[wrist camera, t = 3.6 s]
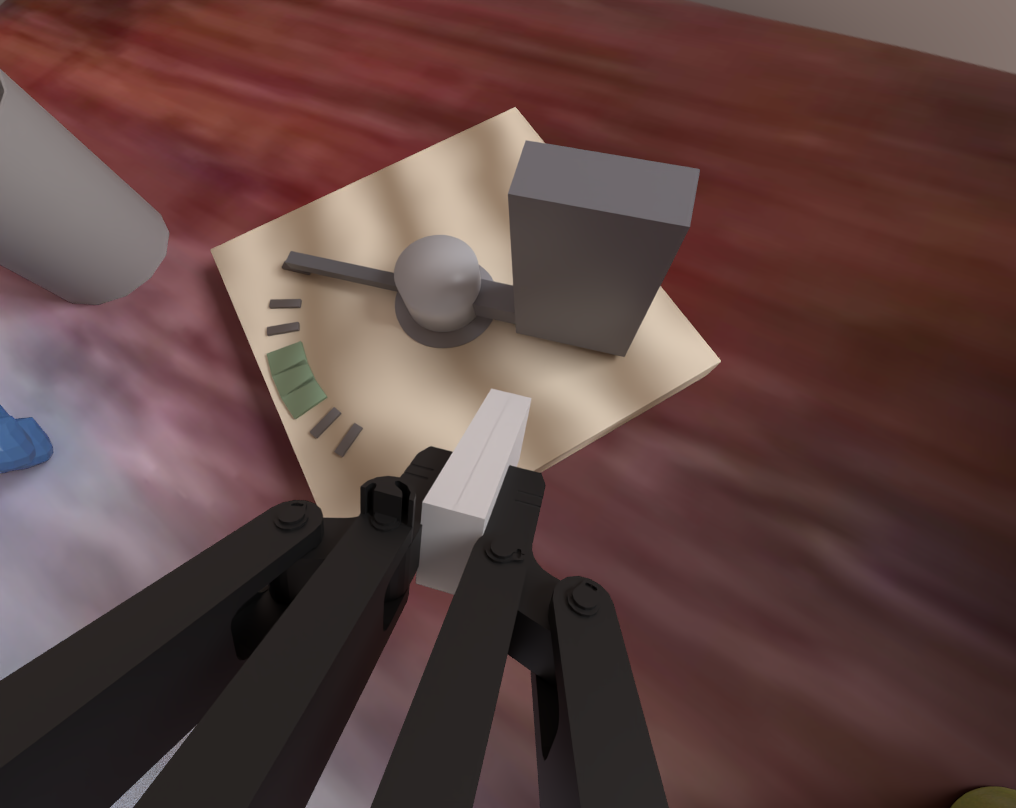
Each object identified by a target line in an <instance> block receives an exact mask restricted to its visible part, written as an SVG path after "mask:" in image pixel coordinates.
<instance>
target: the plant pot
mask: <svg viewBox="0 0 1016 808" xmlns="http://www.w3.org/2000/svg"><path fill="white" fill-rule="evenodd" d="M951 808H1016V790H1013V789H1009V788H1005V787H991V786H990V787H982V788H978V789H975V790H972V791H970V792H967V793H965V794H964V795H963V796H962V797H960V798H959V799H958V800H957V801H956V802H955V803H954V804H953V805H952V806H951Z"/></svg>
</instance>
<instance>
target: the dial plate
mask: <svg viewBox="0 0 1016 808" xmlns="http://www.w3.org/2000/svg"><path fill="white" fill-rule="evenodd" d="M526 140H527V141H533V142H539V143H544V142H543V140H542V139H541V138H540V137H539V136H538V134H537V133H536V132H535V131H534V129H533V128H532V127H531V126H530V124H529V123H528V122H527V121H526V119H525V118H524V117H523V116H522V115H521V113H520V112H519V111H518V110H517V108H516V107H514V108H512V109H510V110H508V111H506V112H504V113H502V114H500V115H497V116H495V117H493V118H491V119H489V120H487V121H485V122H482V123H480V124H478V125H476V126H474V127H472V128H470V129H467V130H465V131H463V132H461V133H459V134H457V135H455V136H452V137H450V138H448V139H446V140H444V141H442V142H440V143H437V144H435V145H433V146H431V147H429V148H427V149H425V150H423V151H420V152H418V153H416V154H414V155H412V156H410V157H408V158H405V159H403V160H401V161H399V162H397V163H395V164H393V165H390V166H388V167H386V168H384V169H382V170H380V171H378V172H375V173H373V174H371V175H369V176H367V177H365V178H363V179H360V180H358V181H356V182H354V183H352V184H350V185H348V186H346V187H343V188H341V189H339V190H337V191H335V192H333V193H331V194H328V195H326V196H324V197H322V198H320V199H318V200H316V201H313V202H311V203H309V204H307V205H305V206H303V207H301V208H298V209H296V210H294V211H292V212H290V213H288V214H286V215H284V216H281V217H279V218H277V219H275V220H273V221H271V222H269V223H266V224H264V225H262V226H260V227H258V228H256V229H254V230H251V231H249V232H247V233H245V234H243V235H241V236H239V237H236V238H234V239H232V240H230V241H228V242H226V243H224V244H221V245H219V246H217V247H215V248H213V249H211V253H212V255H213V257H214V260H215V262H216V265H217V267H218V269H219V272H220V274H221V277H222V279H223V281H224V284H225V286H226V289H227V291H228V293H229V296H230V298H231V301H232V303H233V305H234V308H235V310H236V312H237V315H238V317H239V320H240V322H241V324H242V327H243V329H244V332H245V334H246V336H247V339H248V341H249V344H250V346H251V348H252V351H253V353H254V356H255V358H256V360H257V363H258V365H259V368H260V370H261V372H262V375H263V377H264V380H265V382H266V384H267V387H268V389H269V392H270V394H271V396H272V399H273V401H274V403H275V406H276V408H277V411H278V413H279V415H280V418H281V420H282V423H283V425H284V427H285V430H286V432H287V435H288V437H289V439H290V442H291V444H292V447H293V449H294V451H295V454H296V456H297V459H298V461H299V463H300V466H301V468H302V471H303V473H304V475H305V478H306V480H307V483H308V485H309V487H310V490H311V492H312V494H313V497H314V499H315V502H316V504H317V506H318V507H320V508H321V510H322V514H323V517H325V518H351V517H357V516H359V515H360V486H361V485H363V484H364V483H365V482H367V481H368V480H371V479H373V478H376V477H381V476H394V477H401V475H402V474H404V471H405V470H406V468H407V467H408V466H409V465H410V463H411V462H412V460H413V459H414V458H415V456H416V455H417V453H419V452H421V451H422V450H424V449H426V448H428V447H430V446H433V447H437V448H440V449H444V450H448V451H452V452H453V451H454V449H455V448H456V446H457V444H458V443H459V441H460V439H461V438H462V436H463V434H464V433H465V431H466V430H467V428H468V426H469V425H470V423H471V421H472V420H473V418H474V416H475V415H476V413H477V411H478V410H479V408H480V406H481V405H482V403H483V402H484V400H485V398H486V397H487V395H488V393H489V392H490V390H491V389H496V390H500V391H504V392H508V393H513V394H517V395H521V396H525V397H529V398H532V399H531V404H530V409H529V414H528V419H527V424H526V429H525V433H524V438H523V443H522V448H521V453H520V458H519V462H518V465H517V467H519V468H523V469H527V470H531V471H535V472H539V473H541V472H542V471H544V470H546V469H548V468H549V467H551V466H553V465H554V464H556V463H558V462H560V461H561V460H563V459H565V458H566V457H568V456H570V455H571V454H573V453H575V452H577V451H578V450H580V449H582V448H583V447H585V446H587V445H589V444H590V443H592V442H594V441H595V440H597V439H599V438H600V437H602V436H604V435H606V434H607V433H609V432H611V431H612V430H614V429H616V428H618V427H619V426H621V425H623V424H624V423H626V422H628V421H629V420H631V419H633V418H635V417H636V416H638V415H640V414H641V413H643V412H645V411H647V410H648V409H650V408H652V407H653V406H655V405H657V404H659V403H660V402H662V401H664V400H665V399H667V398H669V397H670V396H672V395H674V394H676V393H677V392H679V391H681V390H682V389H684V388H686V387H688V386H689V385H691V384H693V383H694V382H696V381H698V380H699V379H701V378H703V377H705V376H706V375H708V374H709V373H710V372H711V371H712V370H713V369H714V368H715V367H716V366H717V365H718V364H719V363H720V362H721V360H720V359H719V358H718V357H717V356H716V354H715V353H714V352H713V351H712V349H711V348H710V347H709V346H708V344H707V343H706V342H705V341H704V339H703V338H702V337H701V336H700V335H699V333H698V332H697V331H696V330H695V328H694V327H693V326H692V325H691V323H690V322H689V321H688V320H687V318H686V317H685V316H684V315H683V313H682V312H681V311H680V310H679V309H678V307H677V306H676V305H675V304H674V302H673V301H672V300H671V299H670V297H669V296H668V295H667V294H666V292H665V291H664V290H663V289H662V288H661V286H660V287H659V289H658V291H657V293H656V295H655V297H654V299H653V301H652V303H651V305H650V307H649V309H648V311H647V313H646V315H645V317H644V319H643V321H642V323H641V325H640V327H639V329H638V331H637V333H636V335H635V337H634V339H633V341H632V343H631V345H630V347H629V349H628V351H627V353H626V355H625V357H622V356H617V355H613V354H608V353H604V352H599V351H595V350H590V349H586V348H582V347H577V346H573V345H568V344H564V343H559V342H555V341H550V340H546V339H541V338H537V337H532V336H528V335H523V334H519V333H516V324H512V323H507V322H503V321H498V320H494V319H489V318H485V317H480V316H476V317H475V318H474V319H473V320H472V321H471V322H470V323H469V324H467V325H466V326H464V327H462V328H460V329H458V330H455V331H450V332H435V331H431V330H428V329H426V328H424V327H422V326H420V325H419V324H418V323H417V322H416V321H415V320H414V319H413V318H412V316H411V315H410V313H409V311H408V309H407V307H406V305H405V303H404V301H403V299H402V297H401V295H400V293H399V292H396V291H391V290H387V289H382V288H378V287H373V286H369V285H364V284H359V283H355V282H350V281H346V280H341V279H337V278H332V277H327V276H323V275H318V274H314V273H309V272H305V271H300V270H295V269H291V268H290V267H289V266H288V265H287V264H286V263H285V261H286V259H287V257H288V255H289V253H290V251H294V252H299V253H303V254H308V255H313V256H317V257H322V258H327V259H332V260H336V261H341V262H346V263H350V264H355V265H360V266H364V267H369V268H374V269H378V270H383V271H388V272H393V273H394V268H395V264H396V262H397V259H398V257H399V256H400V254H401V253H402V252H403V251H404V249H405V248H407V247H408V246H409V245H410V244H412V243H413V242H415V241H417V240H419V239H421V238H424V237H427V236H432V235H448V236H452V237H455V238H458V239H460V240H462V241H464V242H465V243H466V244H468V245H469V246H470V247H471V249H472V250H473V251H474V253H475V255H476V257H477V260H478V264H479V270H480V276H481V279H485V280H489V281H494V282H499V283H504V284H508V285H513V274H512V257H511V240H510V223H509V206H508V192H509V189H510V186H511V183H512V180H513V177H514V174H515V171H516V168H517V165H518V162H519V159H520V156H521V153H522V150H523V147H524V144H525V141H526Z"/></svg>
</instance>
